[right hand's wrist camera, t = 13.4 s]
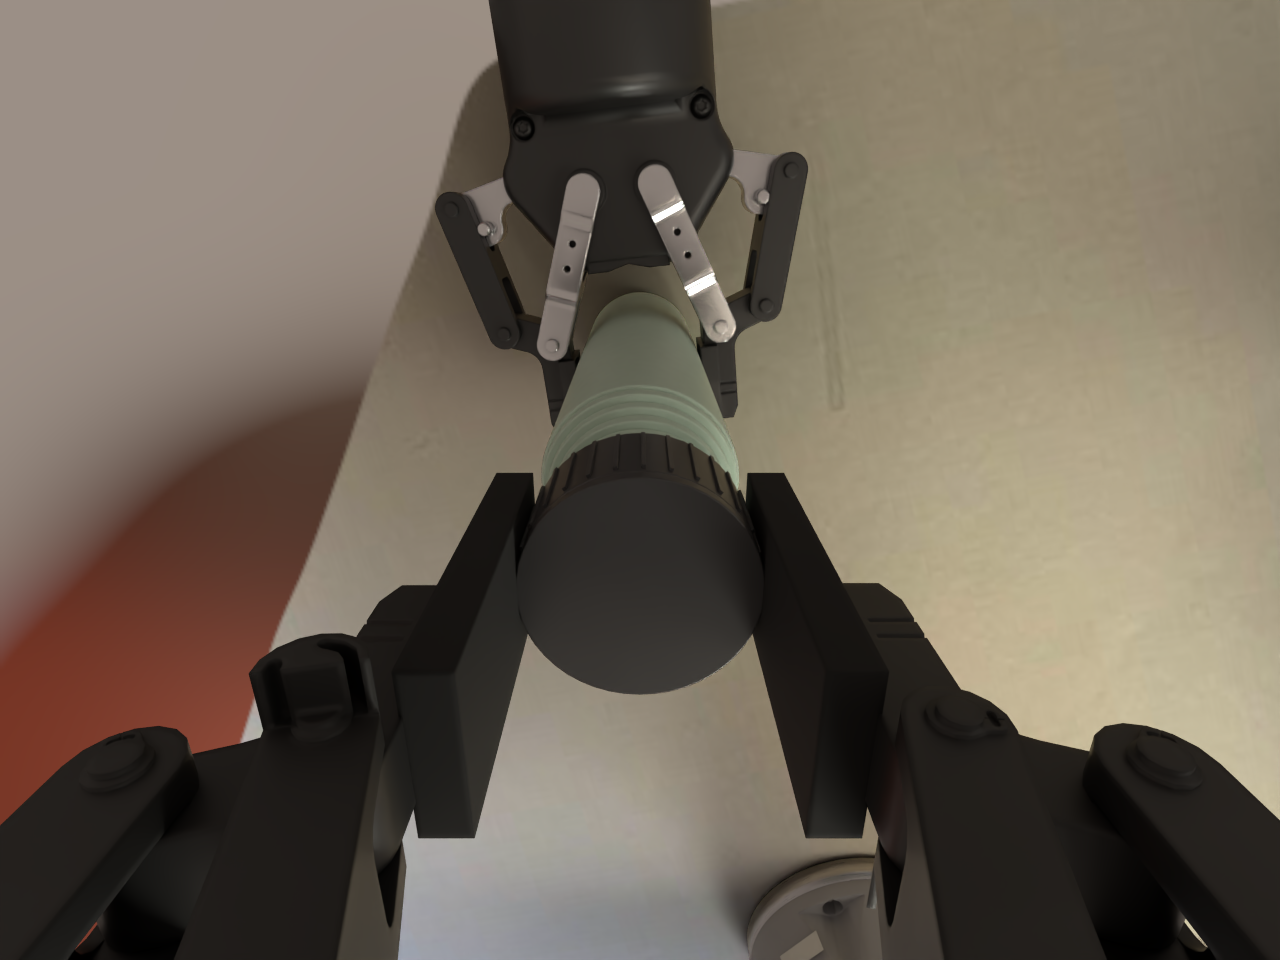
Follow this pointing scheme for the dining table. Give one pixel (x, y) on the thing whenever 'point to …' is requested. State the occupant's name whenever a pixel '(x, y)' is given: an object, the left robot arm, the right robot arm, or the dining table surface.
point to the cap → (640, 566)
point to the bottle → (640, 385)
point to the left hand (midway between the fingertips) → (647, 432)
